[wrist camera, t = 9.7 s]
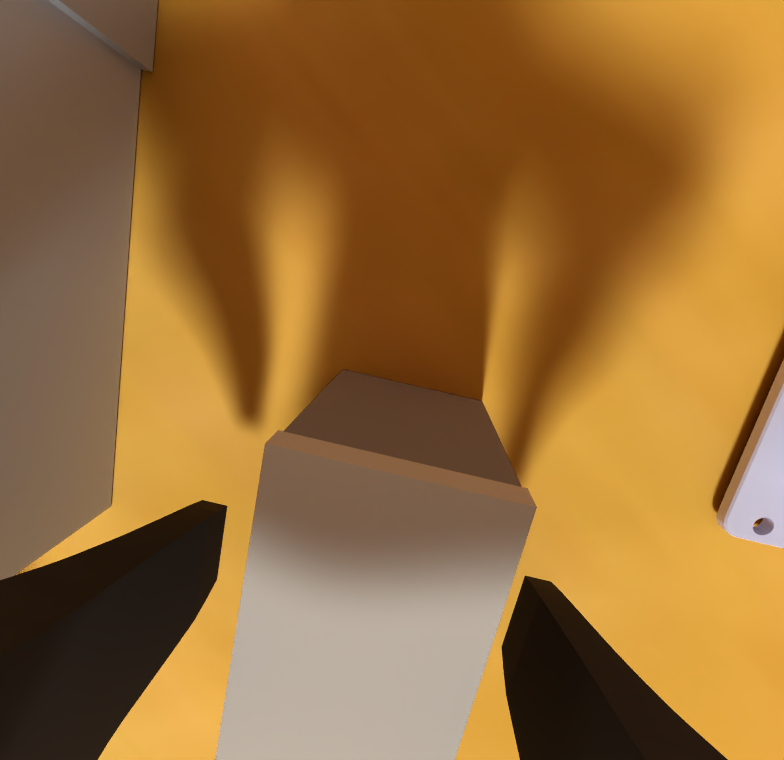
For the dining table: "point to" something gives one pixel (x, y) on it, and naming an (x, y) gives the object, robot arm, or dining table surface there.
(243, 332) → the dining table surface
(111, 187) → the wall
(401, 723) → the block
